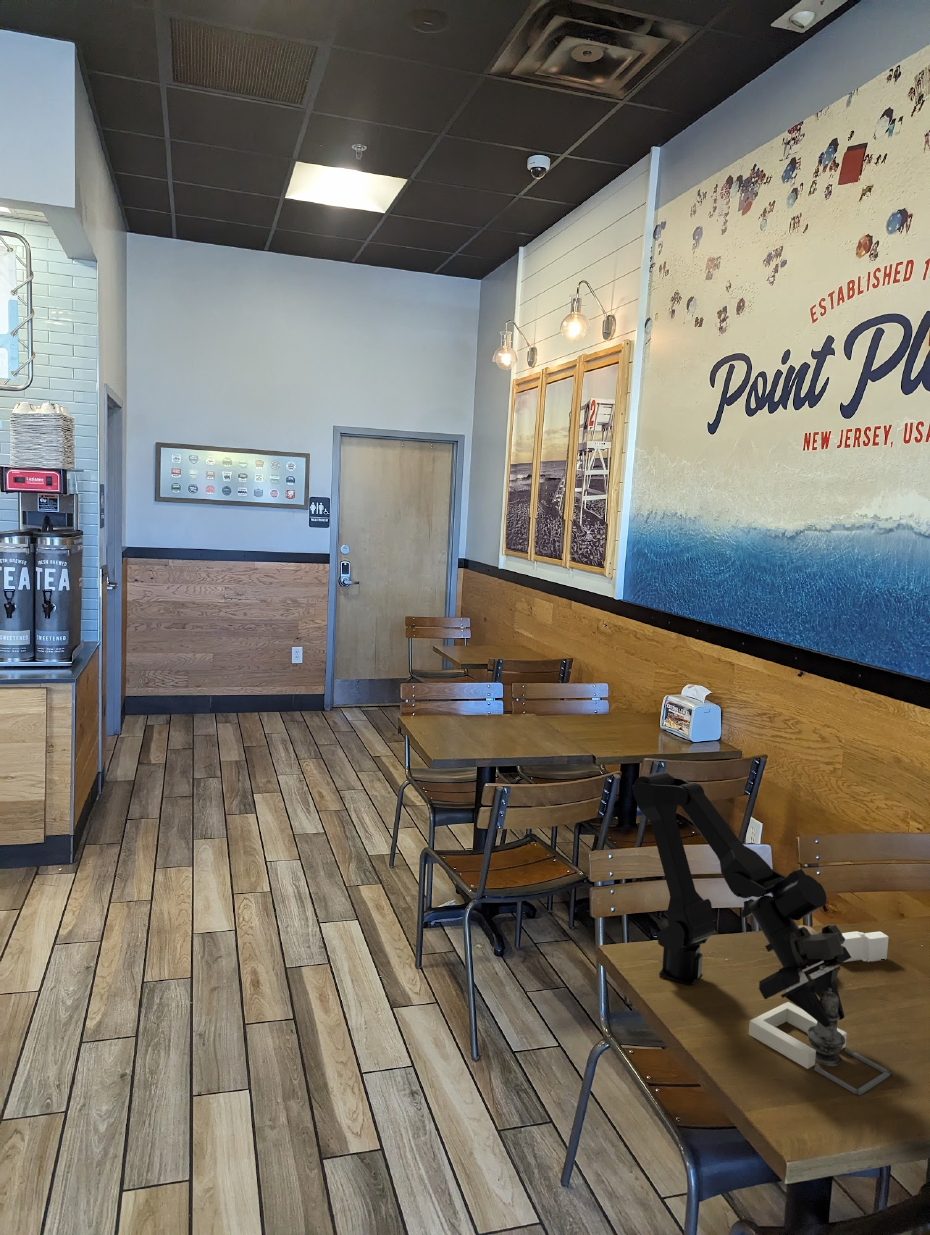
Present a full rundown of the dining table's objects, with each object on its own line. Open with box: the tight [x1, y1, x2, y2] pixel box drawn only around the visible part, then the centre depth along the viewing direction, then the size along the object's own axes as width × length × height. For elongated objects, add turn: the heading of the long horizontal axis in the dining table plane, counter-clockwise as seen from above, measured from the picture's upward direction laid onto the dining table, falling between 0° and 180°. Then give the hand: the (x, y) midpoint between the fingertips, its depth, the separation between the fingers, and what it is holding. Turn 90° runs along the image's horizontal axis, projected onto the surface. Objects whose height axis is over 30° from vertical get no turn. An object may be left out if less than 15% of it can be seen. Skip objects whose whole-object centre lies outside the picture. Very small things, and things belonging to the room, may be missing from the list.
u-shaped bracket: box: [748, 1001, 848, 1070], centre depth 147 cm, size 11×11×2 cm
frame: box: [813, 1047, 893, 1097], centre depth 139 cm, size 8×10×1 cm
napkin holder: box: [841, 930, 890, 963], centre depth 176 cm, size 15×11×6 cm
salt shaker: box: [806, 987, 845, 1067], centre depth 142 cm, size 6×6×12 cm
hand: (835, 1022), depth 141 cm, fingers closed on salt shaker, 4 cm apart
